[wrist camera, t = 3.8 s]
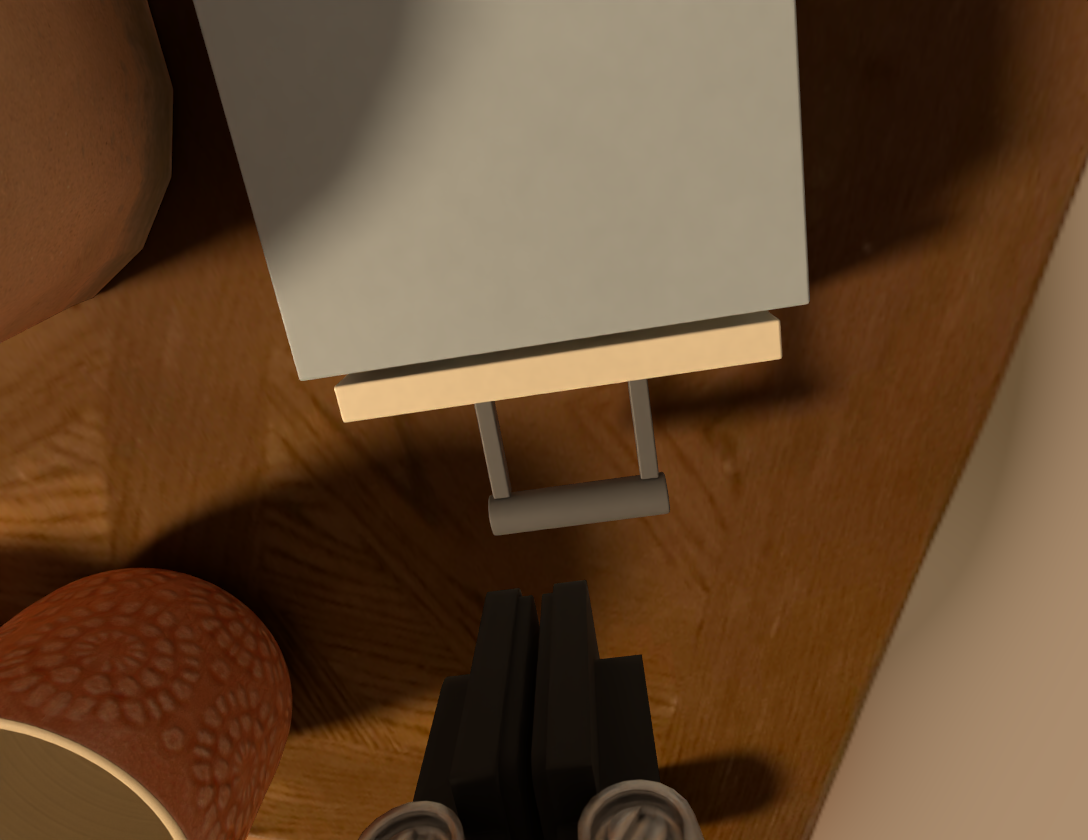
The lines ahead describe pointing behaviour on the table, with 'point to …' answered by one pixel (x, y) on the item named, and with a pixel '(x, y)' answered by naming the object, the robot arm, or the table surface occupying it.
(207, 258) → the table surface
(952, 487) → the table surface
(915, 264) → the table surface
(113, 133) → the pottery
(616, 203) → the grey cabinet
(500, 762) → the robot arm
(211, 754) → the planter
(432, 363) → the drawer
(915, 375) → the table surface
